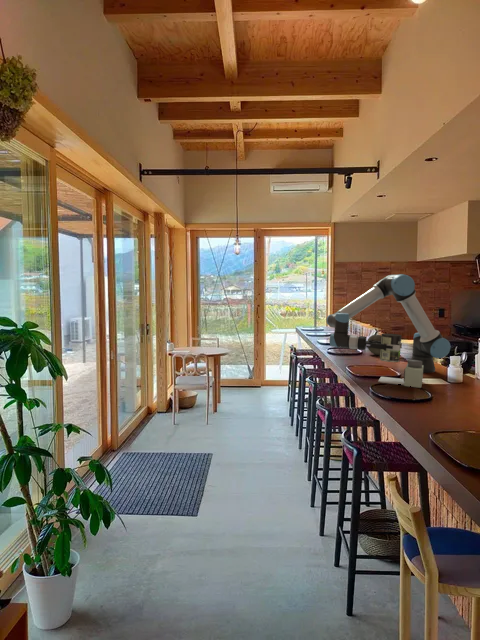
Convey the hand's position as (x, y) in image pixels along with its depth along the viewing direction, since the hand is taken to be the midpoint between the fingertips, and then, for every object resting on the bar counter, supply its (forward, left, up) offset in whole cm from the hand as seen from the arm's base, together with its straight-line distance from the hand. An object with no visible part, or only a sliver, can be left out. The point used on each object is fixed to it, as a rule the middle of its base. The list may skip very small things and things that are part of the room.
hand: (400, 346), depth 237 cm
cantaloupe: (-38, -80, -19) cm, 90 cm away
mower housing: (+1, +3, -18) cm, 19 cm away
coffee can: (+4, -3, -8) cm, 10 cm away
